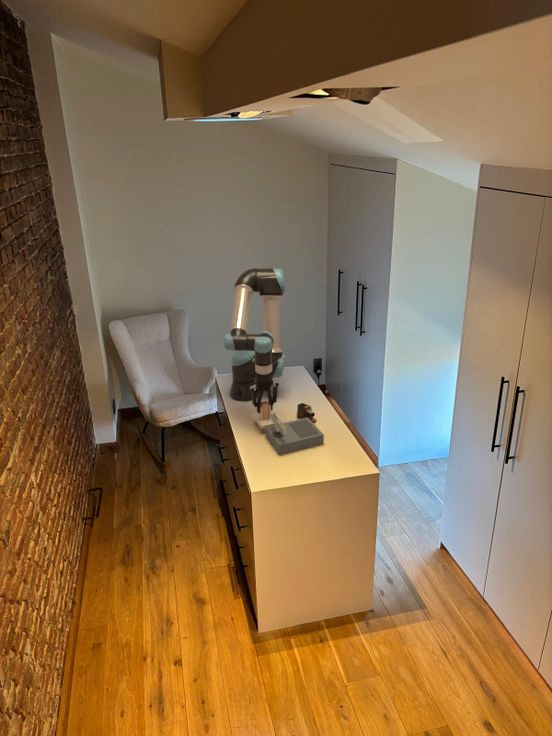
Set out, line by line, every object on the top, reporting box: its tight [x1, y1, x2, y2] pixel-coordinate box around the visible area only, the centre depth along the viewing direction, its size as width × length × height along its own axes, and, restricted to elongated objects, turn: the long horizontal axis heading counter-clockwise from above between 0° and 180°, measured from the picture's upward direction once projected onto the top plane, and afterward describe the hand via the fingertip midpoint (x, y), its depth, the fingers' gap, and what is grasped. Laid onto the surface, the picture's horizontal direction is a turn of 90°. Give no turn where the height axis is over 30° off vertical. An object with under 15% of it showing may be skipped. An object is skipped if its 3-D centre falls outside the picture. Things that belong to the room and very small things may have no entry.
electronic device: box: [296, 402, 317, 424], centre depth 256 cm, size 4×10×8 cm, turn 42°
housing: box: [264, 418, 325, 456], centre depth 241 cm, size 16×21×5 cm
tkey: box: [271, 412, 286, 435], centre depth 235 cm, size 2×14×6 cm, turn 22°
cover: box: [252, 400, 275, 430], centre depth 249 cm, size 12×8×10 cm, turn 22°
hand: (265, 417), depth 250 cm, fingers closed on cover, 3 cm apart
